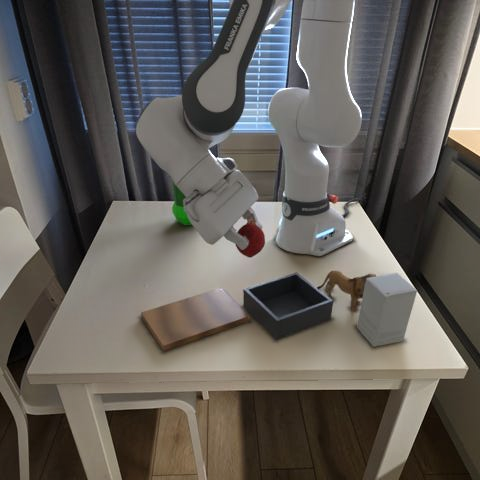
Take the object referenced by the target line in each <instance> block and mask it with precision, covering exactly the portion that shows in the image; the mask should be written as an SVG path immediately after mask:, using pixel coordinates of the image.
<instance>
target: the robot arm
mask: <svg viewBox="0 0 480 480" xmlns="http://www.w3.org/2000/svg"><path fill="white" fill-rule="evenodd" d="M228 1H229V9H228V12H227V15H226V17H225V20H224V22H223V24H222V26H221V29H220V31H219V33H218V35H217V38H216V40H215V42H214V45H213V47H212V49H211V51H210V53H209V55H207V56H206V58H205V59H204V60H203V61H202V62H201V63H200V64H199V65H197V67H196V68H194V69H193V70H192V71H191V73H190V74H189V75H188V76H187V78H186V79H185V82H184V84H183V87H182V92H181V94H180V95H176V96H171V97H156V98H153V99H152V100H150V101H149V102H148V103H147V104H146V105H145V106H144V108H143V109H142V111H141V112H140V114H139V115H138V118H137V120H136V124H135V134H136V137H137V139H138V141H139V143H140V144H141V145H142V147H143V148H144V150H145V151H146V152H147V154H148V155H149V156H150V158H151V159H152V160H153V161H154V162H155V163H156V165H157V166H158V167H159V168H160V169H161V170H162V171H165V172H166V174H168V176H169V177H170V176H171V177H170V178H171V180H172V182H173V181H174V183H175V185H176V186H177V187H178V188H179V190H180V191H181V192H182V193H183V194H184V195H185V196H186V197H185V198H184V200H183V206H184V211H185V212H186V213H187V216H188V218H189V220H190V222H191V223H192V225H191V226H193V228H194V229H195V231H196V232H197V233H198V234H199V236H200V237H201V238H202V240H203V241H204V242H205V243H207V244H209V245H211V246H212V245H215V244H216V243H217V242H218V241H220V240H221V239H222V238H223V237H224V238H225V239H226V241H229V242H231V243H233V244H235V245H236V244H237V246H238V247H239V248H240V249H241V250H244V249H245V248H246V247H247V246H248V245H249V244H250V241H249V240H248V239H247V237H246V236H244V237H242V236H241V235H240V234H238V233H237V232H238V231H237V229H236V227H235V224H236V223H237V222H239V220H240V219H241V218H243V220H246V222H248V221H249V220H250V219H253V220H254V224H255V225H257V226H258V227H260V228H261V229H262V230H263V224H261V222H260V221H259V220H258V217H257V215H256V212H255V210H254V209H253V208H252V206H253V205H254V204H255V203H256V202H257V201H258V200H259V194H258V191H257V190H256V188H255V187H254V186H253V184H252V183H251V182H250V180H249V179H248V178H247V177H246V176H245V174H244V173H242V172H241V171H240V170H239V169H237V168H238V164H237V163H236V161H235V160H234V159H233V158H232V157H231V158H230V157H227V158H221V157H215V156H214V154H212V152H211V150H210V149H212V148H213V147H215V146H217V145H218V144H220V143H222V142H224V141H225V140H227V138H229V137H230V135H231V133H232V132H233V130H234V128H235V126H236V124H237V123H238V122H239V121H240V119H241V117H242V116H243V112H244V110H245V105H246V77H247V73H248V71H249V67H250V65H251V62H252V60H253V58H254V55H255V52H256V51H257V48H258V45H259V43H260V41H261V38H262V36H263V34H264V32H265V31H266V30H269V29H272V28H274V27H275V26H277V25H278V23H279V22H280V20H281V19H282V18H283V16H284V14H285V13H286V11H287V10H288V8H289V5H290V4H291V2H292V0H228ZM355 1H356V0H303V1H302V8H301V13H300V14H301V15H300V23H299V31H298V41H297V50H296V61H297V64H298V66H299V67H300V68H301V70H302V71H303V72H304V74H305V77H306V80H307V85H308V89H307V88H302V87H287V88H281V89H279V90H277V91H276V92H275V93H274V94H273V95H272V97H271V99H270V101H269V104H268V109H267V116H268V117H267V118H268V121H269V123H270V124H271V126H272V127H273V129H274V130H275V131H276V135H277V136H278V139H279V142H280V145H281V148H282V152H283V157H284V164H285V173H284V174H285V177H284V191H283V192H282V200H281V214H282V215H281V218H280V220H279V223H278V226H279V229H278V231H277V235H276V237H275V243H276V245H277V246H278V247H279V248H281V249H282V250H284V251H286V252H288V253H289V252H290V253H294V254H300V255H311V256H316V257H322V256H324V255H327V254H328V253H331V252H332V251H334V250H337V249H338V248H340V247H342V246H344V245H347V244H349V243H350V242H353V237H354V236H353V234H352V233H351V232H350V231H349V230H347V226H346V225H347V224H346V219H345V217H346V216H347V215H348V214H349V212H350V211H349V208H348V207H347V206H348V205H349V204H350V203H352V202H356V201H357V202H359V203H361V202H362V199H360V198H358V197H357V198H352V199H350V200H348V201H346V202H345V203H344V205H343V206H344V207H343V208H344V210H345V213H343V214H341V213H340V212H339V211H337V210H336V209H334V208H333V207H332V206H331V204H330V203H332V204H333V205H335V204H337V202H338V201H339V197H338V196H336V195H334V194H332V193H331V194H329V193H328V191H327V190H328V183H329V174H330V165H329V163H328V161H327V159H326V157H325V156H324V155H323V153H322V152H321V149H320V146H322V147H324V148H325V147H326V148H346V147H348V146H349V145H351V144H352V143H353V142H354V141H355V140H356V138H358V135H359V133H360V131H361V126H362V121H363V120H362V111H361V109H360V107H359V105H358V104H357V102H356V101H355V99H354V97H353V95H352V93H351V88H350V85H349V80H348V73H347V61H348V52H349V51H348V50H349V44H350V36H351V30H352V25H353V24H352V22H353V18H354V11H355ZM186 204H187V205H186Z"/></svg>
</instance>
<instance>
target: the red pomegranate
mask: <svg viewBox="0 0 480 480" xmlns="http://www.w3.org/2000/svg"><path fill="white" fill-rule="evenodd" d="M236 232H237V233H238V234H240V235H241V236H242V237H244V236H246V237H247V239H248V240H249V241H250V244H249V245H248V246H247V247H246V248H245V249H244V250H241V249H240V248H239V247H238V246H237V244H235V247H236V249H237V251H238V252H239V253H240V254H241V255H243V256H244V257H247V258H250V259H251V258H253V257H255V256H256V255H258V254H259V253H261V251H262V250H263V249H264V247H265V244H266V236H265V233H264V231H263V228H262V229H261V228H260V227H258V226H257V225H255V224H254V220H253V219H250V220H249V221H246V223H245V224H243V225H242V226H240V228H239V229H238V231H236Z"/></svg>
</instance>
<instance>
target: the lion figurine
mask: <svg viewBox="0 0 480 480" xmlns="http://www.w3.org/2000/svg"><path fill="white" fill-rule="evenodd" d="M376 276H377V274H375V273H367V274H365V275H363V276H356V277H353V278H351V277H348V276H347V275H345V274H344V273H343V272H341V271H340V270H334V269H333V270H331V271H329V272H328V273H327V275H326V276H325V279H324V281H323V283H322V284H321V285H318V286H316V288H318V289H319V290H321V289H322V288H324V286H325V285H326V286H325V290H327V296H328V297H329V298H331V299H332V300H333V301H334V296H332V291H333V289H334V287H335V286H337V287H338V289H339V290H340V291H341V292H342V293H344V294H347V295H349V296H350V310H351V311H353V312H354V311H356V310H357V306H358V305H361V302H360V299H361V300H362V298H363V293H364V288H365V282H366V278H370V277H376ZM356 305H357V306H356Z"/></svg>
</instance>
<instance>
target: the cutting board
mask: <svg viewBox="0 0 480 480" xmlns="http://www.w3.org/2000/svg"><path fill="white" fill-rule="evenodd" d="M140 316H141V320H142V321H143V322H144V324H145V325H146V327H147V329H148V330H149V331H150V333H151V334H152V335H153V337H154V338H155V340H156V342H157V343H158V345H159V346H160V348H161V349H162V350H163V352H166V351H169V350H172V349H175V348H177V347H181V346H183V345H187V344H189V343H192V342H195V341H198V340H199V339H203V338H206V337H208V336H211V335H214V334H217V333H220V332H222V331H225V330H228V329H231V328H234V327H237V326H240V325H242V324H245V323H248V322H249V320H250V319H249V315H248V314H247V312H245V311H244V309H242V307H240V306H239V305H238V304H237V303H236V302H235V300H234V299H233V298H231V297H230V296H229V295H228V293H226V291H225V290H223V288H221V287H218V288H215V289H212V290H209V291H205V292H202V293H199V294H196V295H192V296H189V297H186V298H183V299H180V300H176V301H173V302H170V303H167V304H164V305H160V306H157V307H154V308H150V309H147V310H144V311H141V312H140Z"/></svg>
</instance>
